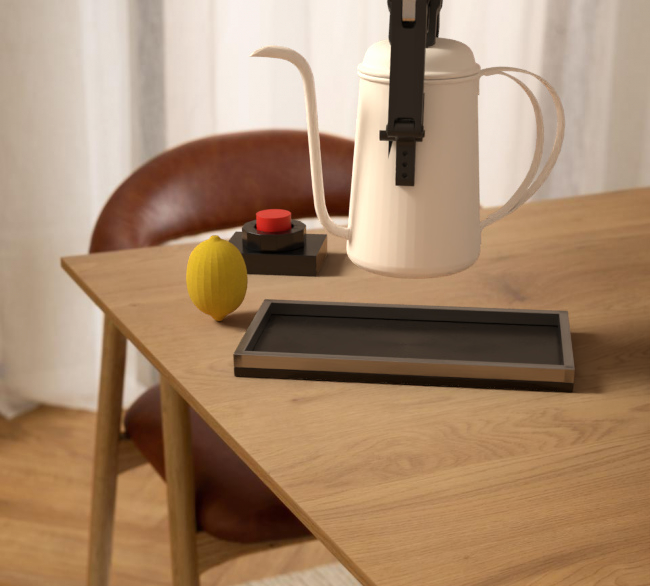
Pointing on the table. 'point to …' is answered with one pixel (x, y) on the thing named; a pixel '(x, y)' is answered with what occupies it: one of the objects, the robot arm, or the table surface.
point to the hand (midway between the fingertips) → (409, 209)
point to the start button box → (281, 250)
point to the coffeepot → (418, 165)
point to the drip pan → (409, 345)
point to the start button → (273, 220)
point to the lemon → (216, 277)
